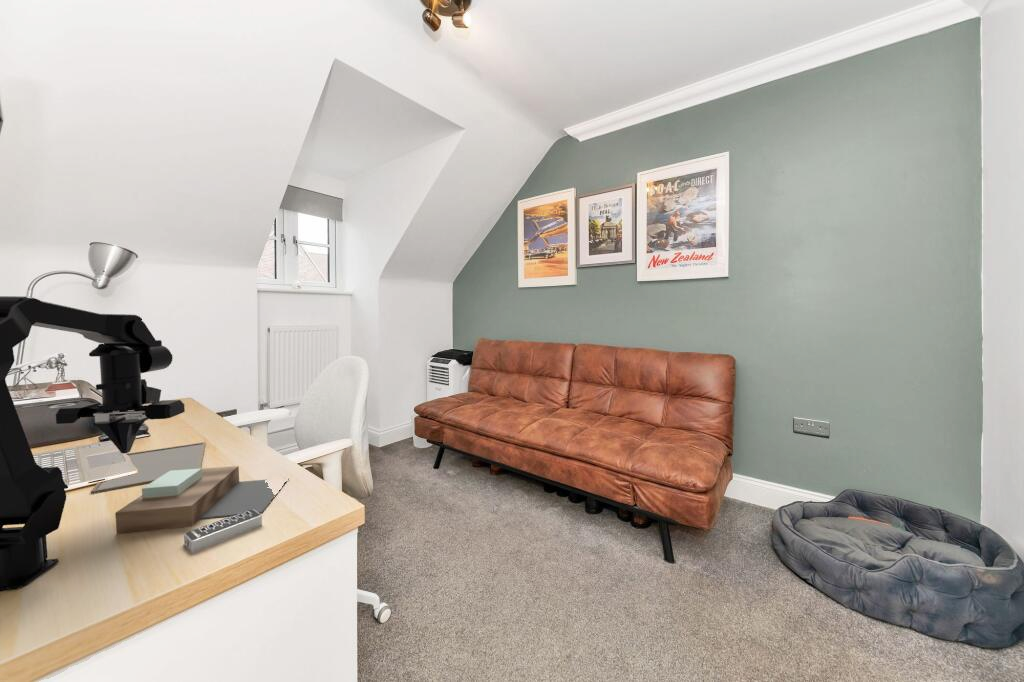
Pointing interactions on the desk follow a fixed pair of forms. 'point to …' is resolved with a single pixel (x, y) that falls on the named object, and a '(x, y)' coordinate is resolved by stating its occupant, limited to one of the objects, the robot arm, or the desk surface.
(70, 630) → the desk surface
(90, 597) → the desk surface
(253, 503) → the mat
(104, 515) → the desk surface
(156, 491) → the block
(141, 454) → the thin grey panel
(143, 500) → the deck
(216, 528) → the multiport hub
